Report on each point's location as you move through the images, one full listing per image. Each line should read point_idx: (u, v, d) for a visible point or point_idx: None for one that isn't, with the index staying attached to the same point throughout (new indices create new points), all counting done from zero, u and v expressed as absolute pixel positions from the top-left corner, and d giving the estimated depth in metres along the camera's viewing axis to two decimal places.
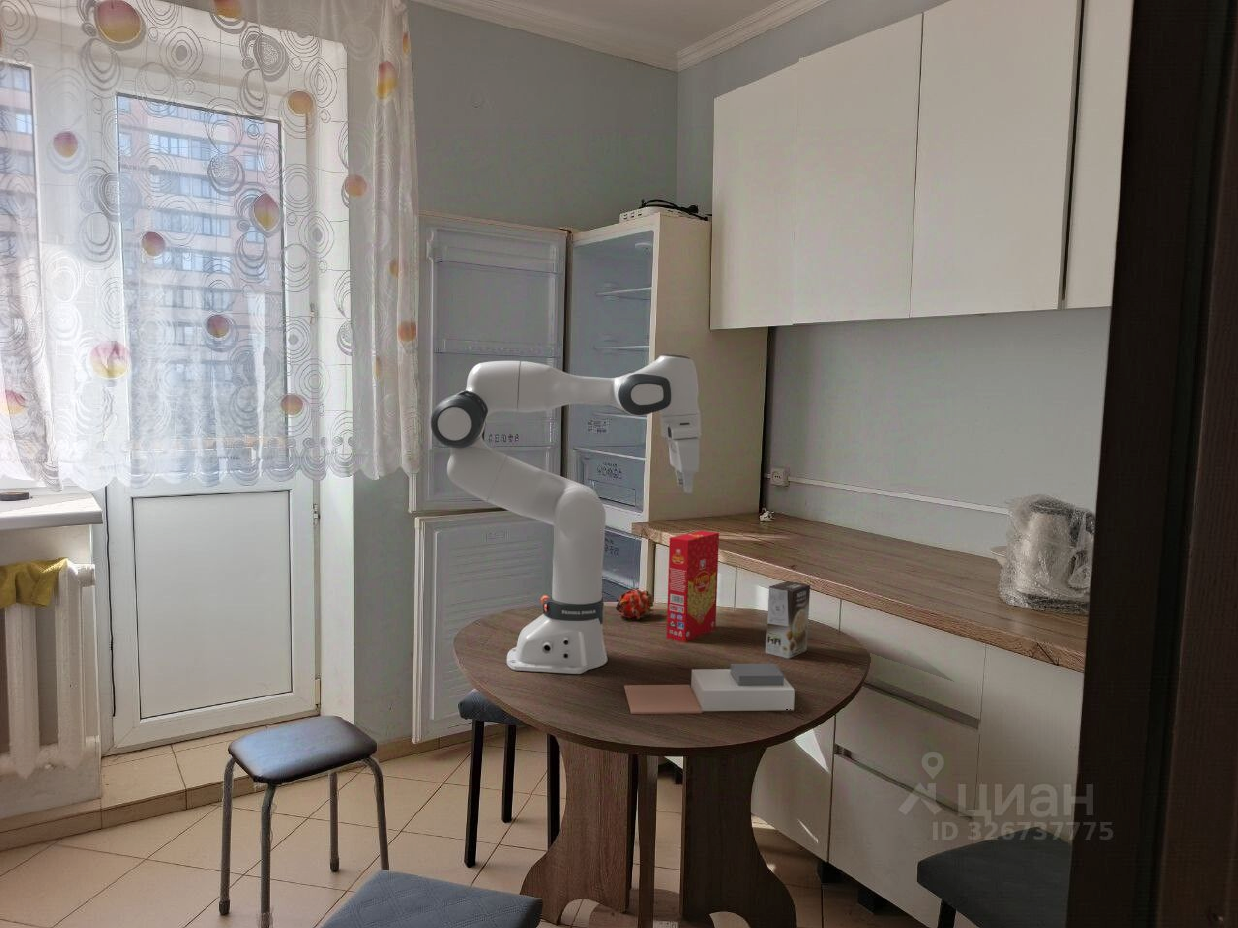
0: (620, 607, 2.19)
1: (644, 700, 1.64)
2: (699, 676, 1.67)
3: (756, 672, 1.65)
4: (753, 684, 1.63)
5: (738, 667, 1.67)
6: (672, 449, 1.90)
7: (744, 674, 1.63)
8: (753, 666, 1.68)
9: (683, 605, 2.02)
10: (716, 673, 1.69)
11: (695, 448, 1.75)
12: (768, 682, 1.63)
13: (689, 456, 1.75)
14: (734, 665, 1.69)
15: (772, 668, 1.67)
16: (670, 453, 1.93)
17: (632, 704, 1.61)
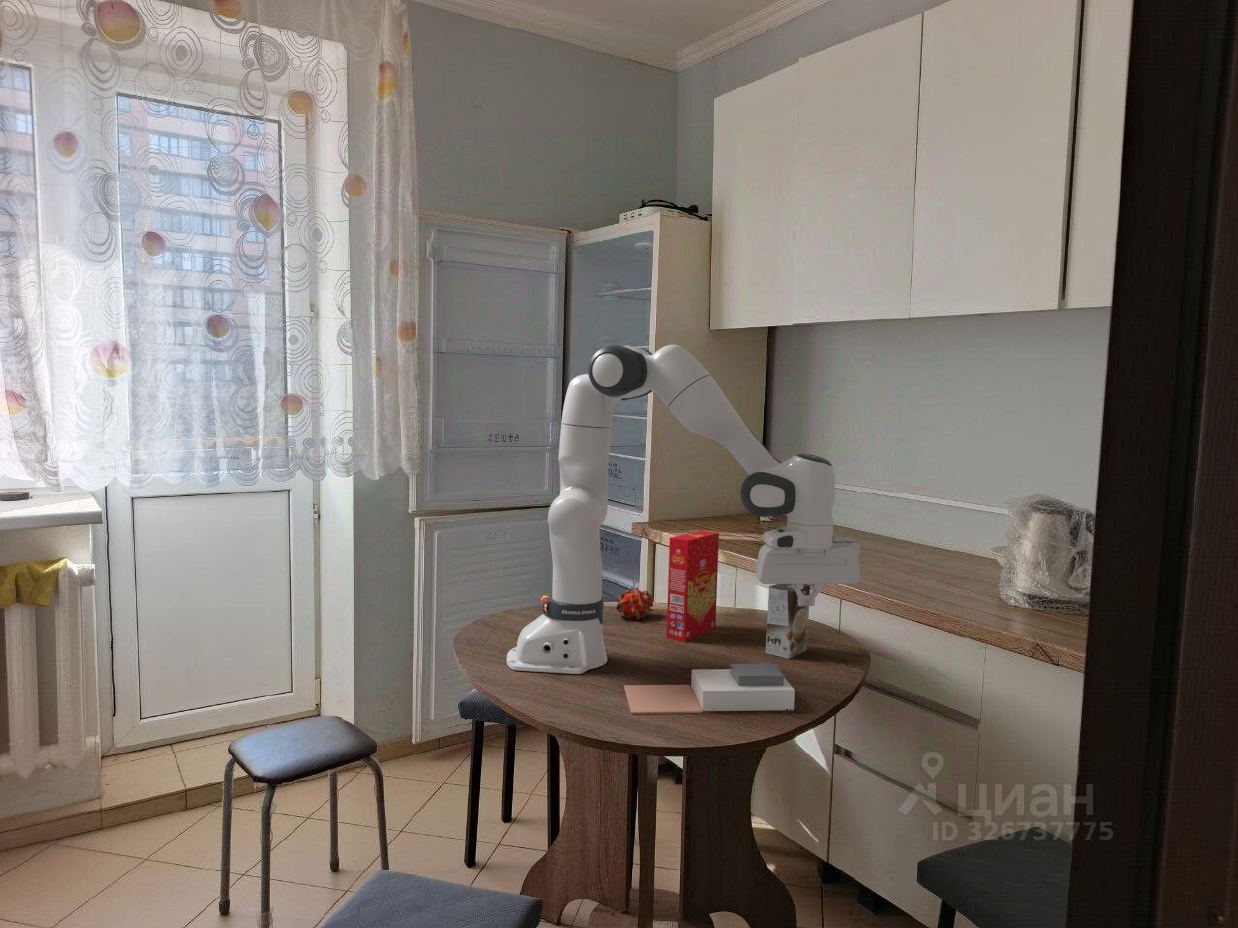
0: (620, 607, 2.19)
1: (644, 700, 1.64)
2: (699, 676, 1.67)
3: (756, 672, 1.65)
4: (753, 684, 1.63)
5: (738, 667, 1.67)
6: None
7: (744, 674, 1.63)
8: (753, 666, 1.68)
9: (683, 605, 2.02)
10: (716, 673, 1.69)
11: (763, 556, 1.63)
12: (768, 682, 1.63)
13: (759, 563, 1.64)
14: (734, 665, 1.69)
15: (772, 668, 1.67)
16: None
17: (632, 704, 1.61)
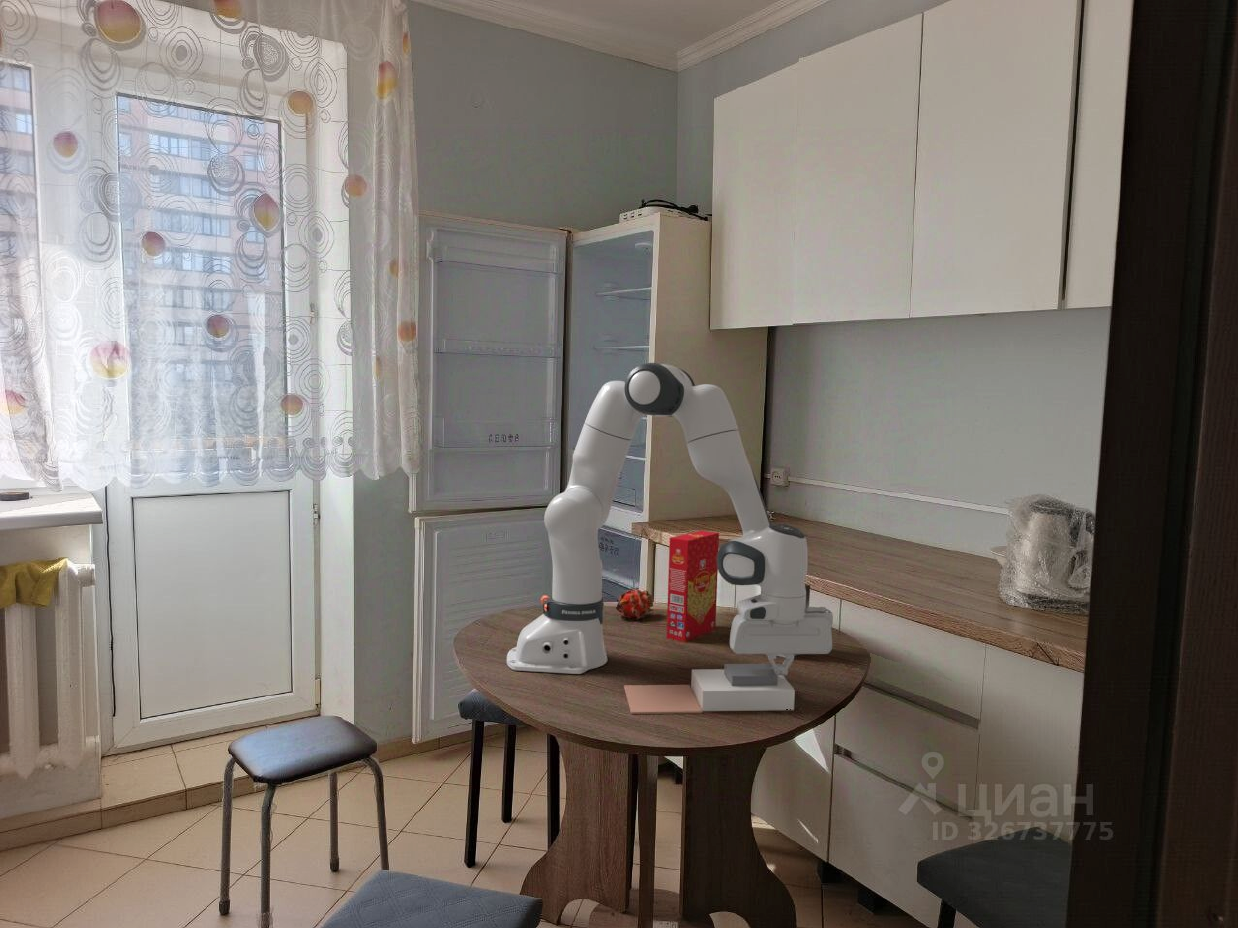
0: (620, 607, 2.19)
1: (644, 700, 1.64)
2: (699, 676, 1.67)
3: (749, 672, 1.65)
4: (746, 684, 1.63)
5: (732, 667, 1.67)
6: None
7: (737, 674, 1.63)
8: (747, 666, 1.68)
9: (683, 605, 2.02)
10: (716, 673, 1.69)
11: (736, 627, 1.64)
12: (762, 682, 1.63)
13: (732, 633, 1.65)
14: (728, 665, 1.68)
15: (766, 668, 1.67)
16: None
17: (632, 704, 1.61)
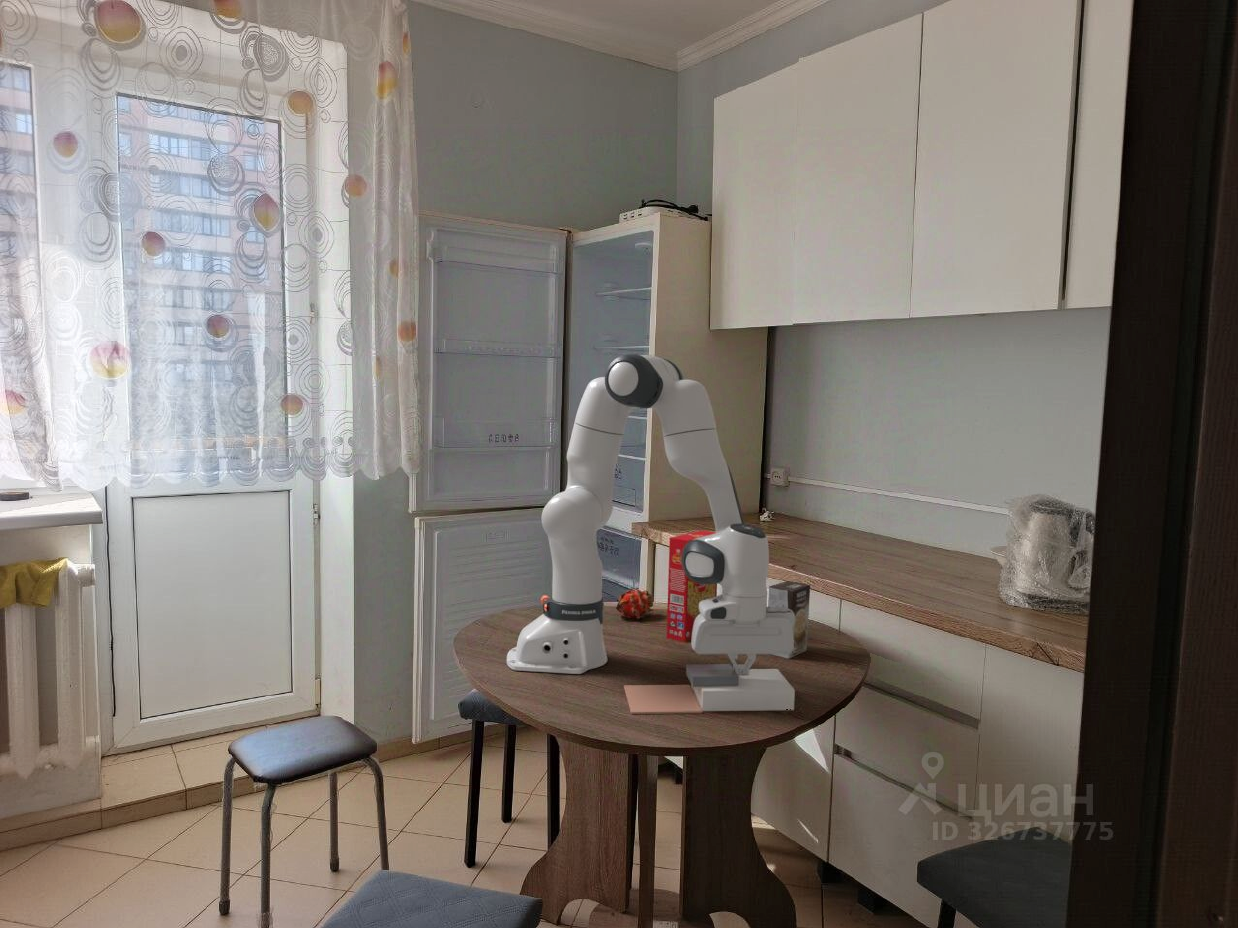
0: (620, 607, 2.19)
1: (644, 700, 1.64)
2: None
3: (711, 673, 1.64)
4: (708, 685, 1.62)
5: (694, 668, 1.66)
6: None
7: (699, 675, 1.62)
8: (709, 667, 1.67)
9: (683, 605, 2.02)
10: None
11: (697, 627, 1.63)
12: (723, 683, 1.62)
13: (694, 633, 1.65)
14: (689, 666, 1.67)
15: (728, 668, 1.66)
16: None
17: (632, 704, 1.61)
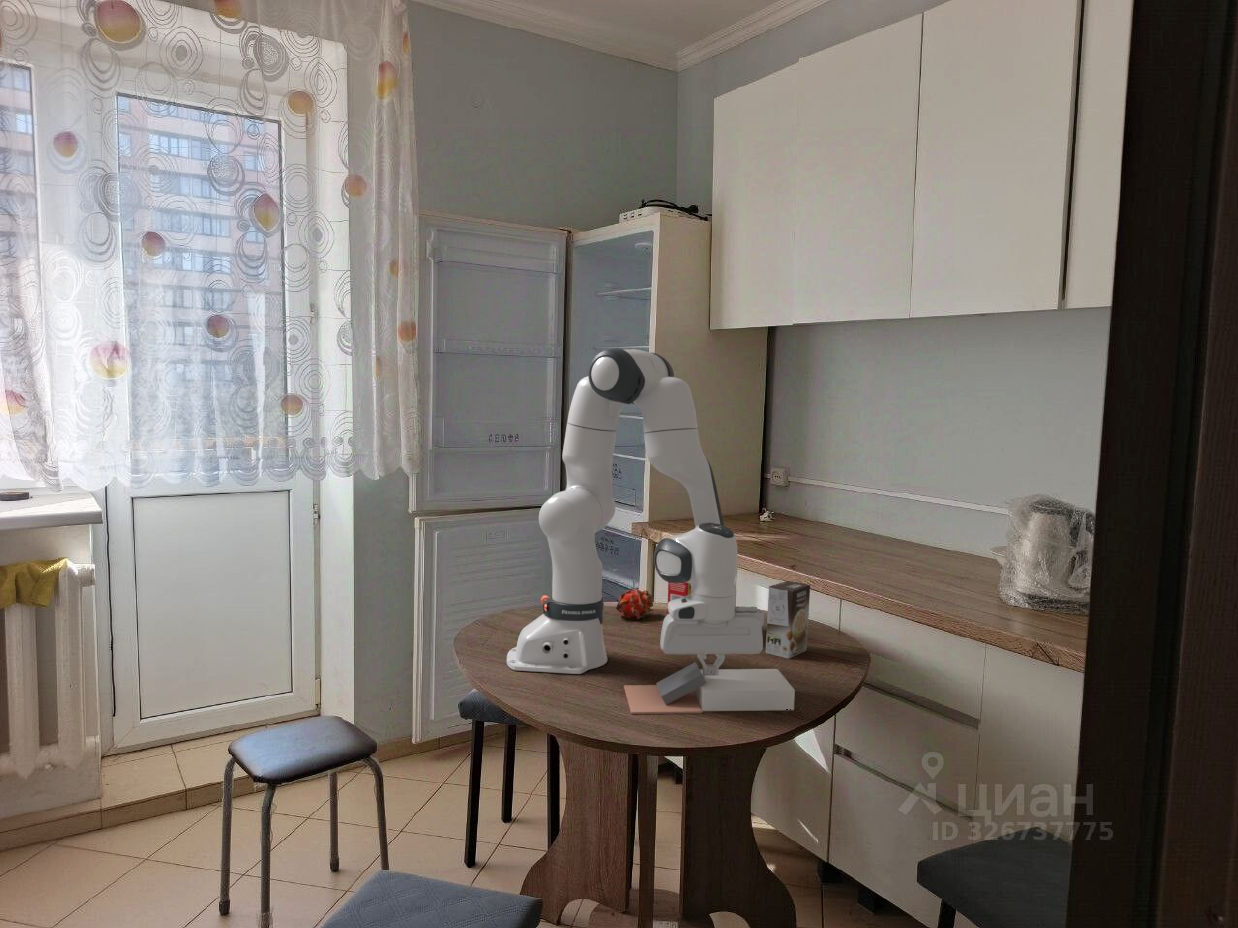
0: (620, 607, 2.19)
1: (644, 700, 1.64)
2: None
3: (677, 683, 1.63)
4: (678, 696, 1.62)
5: (662, 684, 1.66)
6: None
7: (666, 691, 1.62)
8: (676, 675, 1.67)
9: None
10: None
11: (665, 627, 1.62)
12: (691, 687, 1.62)
13: (662, 633, 1.64)
14: (659, 683, 1.67)
15: (693, 669, 1.66)
16: None
17: (632, 704, 1.61)
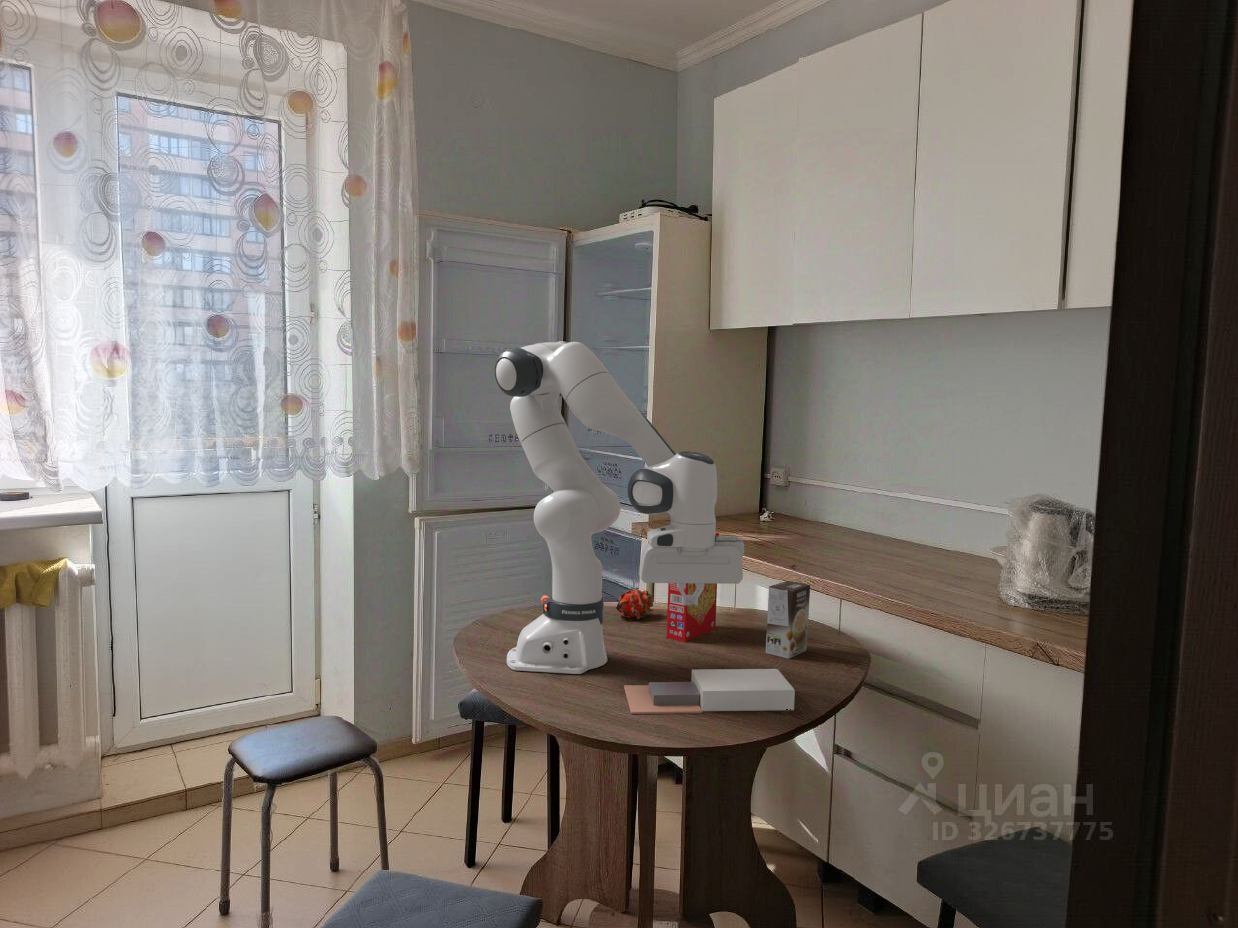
0: (620, 607, 2.19)
1: (644, 700, 1.64)
2: (699, 676, 1.67)
3: (672, 691, 1.63)
4: (668, 703, 1.61)
5: (656, 686, 1.66)
6: None
7: (659, 693, 1.62)
8: (671, 684, 1.67)
9: (683, 605, 2.02)
10: (716, 673, 1.69)
11: (644, 555, 1.61)
12: (683, 701, 1.62)
13: (641, 562, 1.62)
14: (652, 683, 1.67)
15: (690, 687, 1.66)
16: None
17: (632, 704, 1.61)
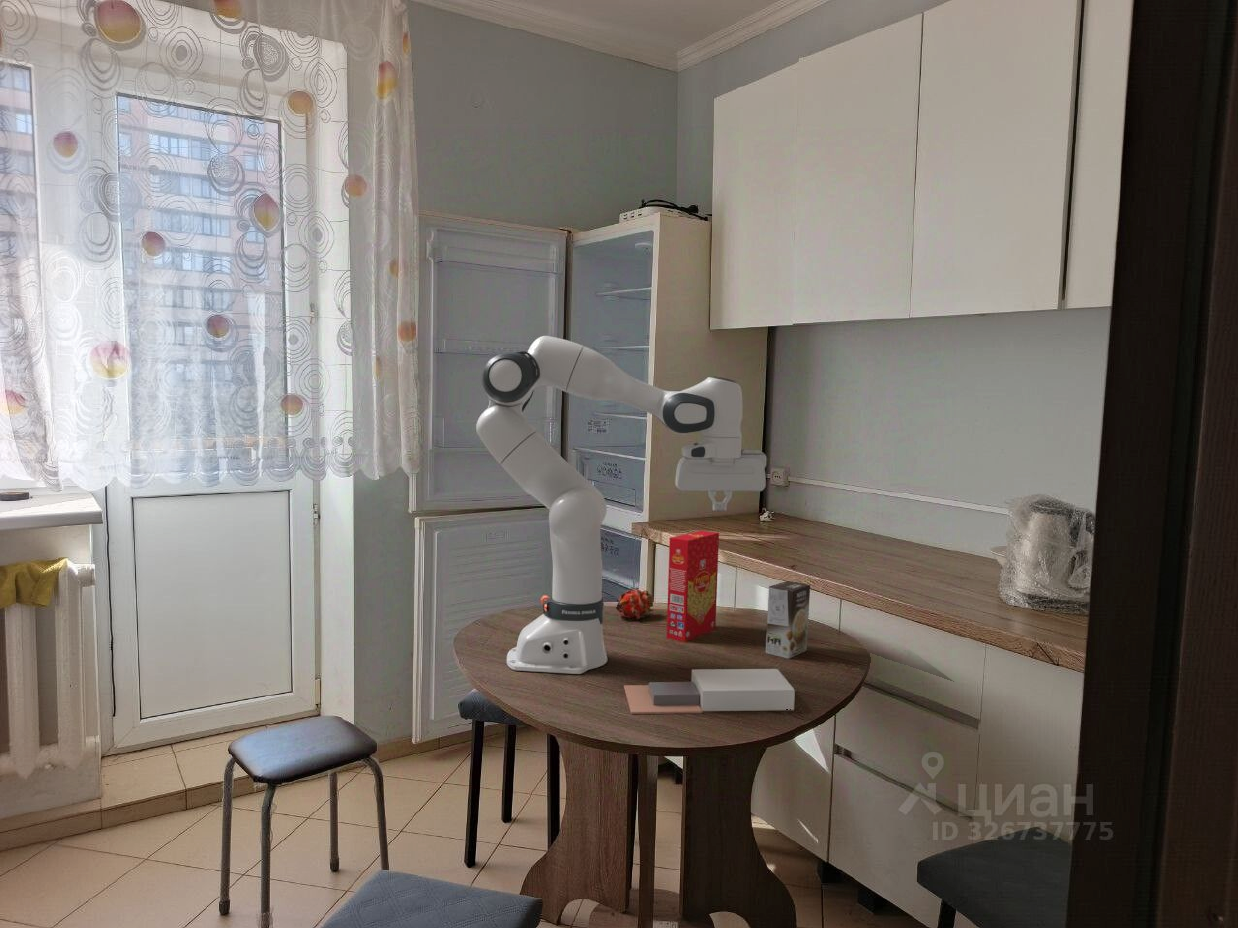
0: (620, 607, 2.19)
1: (644, 700, 1.64)
2: (699, 676, 1.67)
3: (672, 691, 1.63)
4: (668, 703, 1.61)
5: (656, 686, 1.66)
6: None
7: (659, 693, 1.62)
8: (671, 684, 1.67)
9: (683, 605, 2.02)
10: (716, 673, 1.69)
11: (679, 466, 1.85)
12: (683, 701, 1.62)
13: (677, 473, 1.87)
14: (652, 683, 1.67)
15: (690, 687, 1.66)
16: None
17: (632, 704, 1.61)
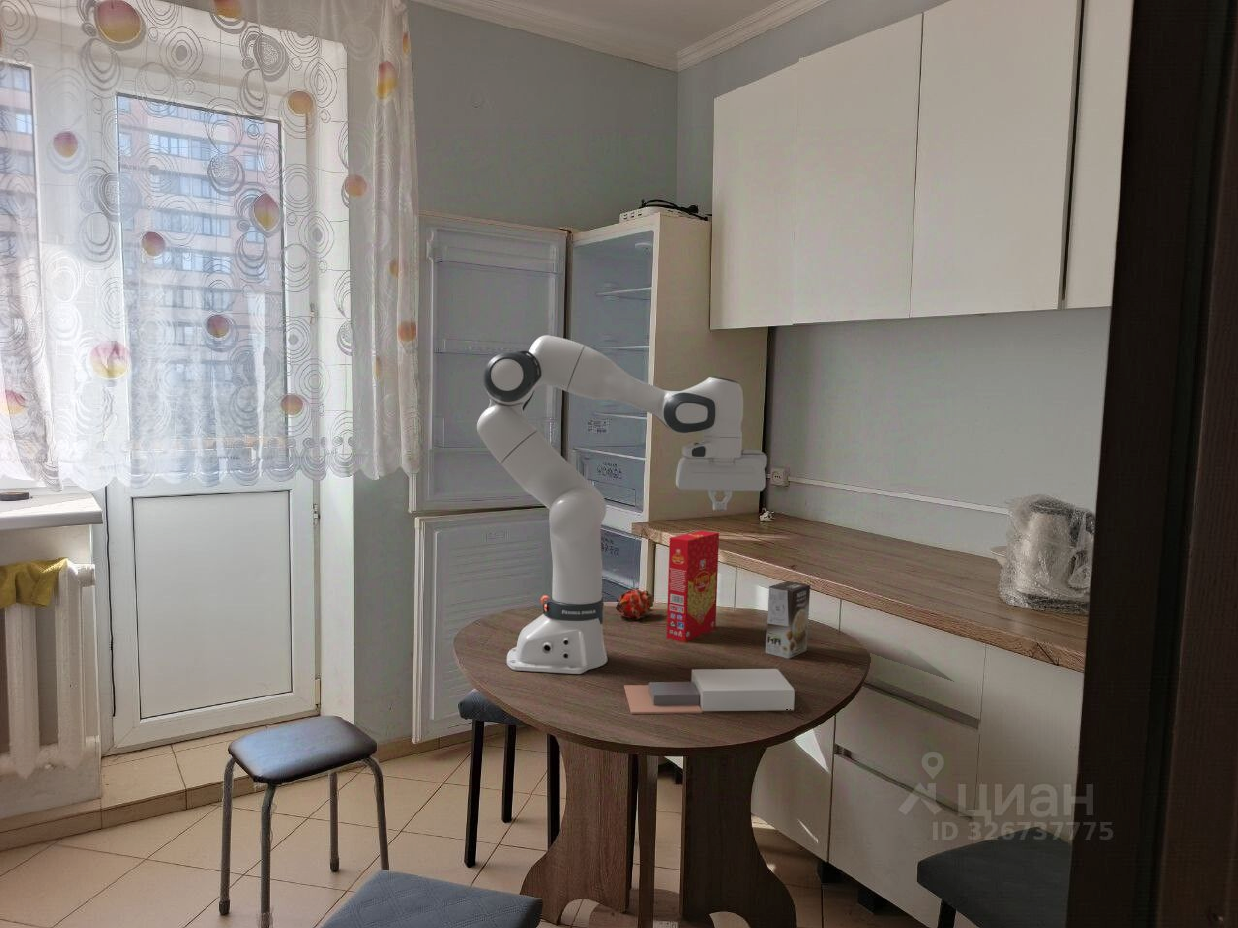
0: (620, 607, 2.19)
1: (644, 700, 1.64)
2: (699, 676, 1.67)
3: (672, 691, 1.63)
4: (668, 703, 1.61)
5: (656, 686, 1.66)
6: None
7: (659, 693, 1.62)
8: (671, 684, 1.67)
9: (683, 605, 2.02)
10: (716, 673, 1.69)
11: (680, 466, 1.86)
12: (683, 701, 1.62)
13: (677, 472, 1.87)
14: (652, 683, 1.67)
15: (690, 687, 1.66)
16: None
17: (632, 704, 1.61)
